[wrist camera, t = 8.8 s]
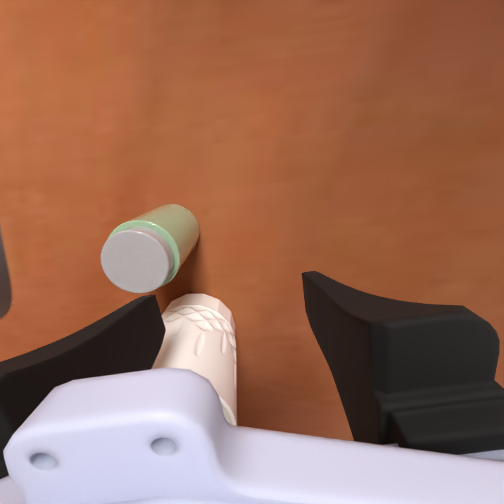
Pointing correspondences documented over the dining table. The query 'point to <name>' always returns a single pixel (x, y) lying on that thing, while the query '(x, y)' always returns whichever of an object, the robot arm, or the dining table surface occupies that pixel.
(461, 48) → the dining table surface
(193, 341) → the white cup
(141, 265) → the salt shaker
